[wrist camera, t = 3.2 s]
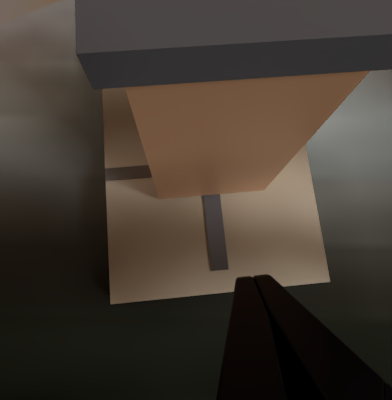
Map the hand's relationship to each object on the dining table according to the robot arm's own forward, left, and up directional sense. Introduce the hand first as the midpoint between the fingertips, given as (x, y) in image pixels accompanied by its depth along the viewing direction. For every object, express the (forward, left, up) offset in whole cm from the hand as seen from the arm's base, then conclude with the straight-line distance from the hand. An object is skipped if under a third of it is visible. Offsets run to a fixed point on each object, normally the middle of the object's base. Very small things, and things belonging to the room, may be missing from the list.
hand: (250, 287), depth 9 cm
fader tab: (+4, +4, -7) cm, 9 cm away
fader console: (+5, +5, -9) cm, 12 cm away
